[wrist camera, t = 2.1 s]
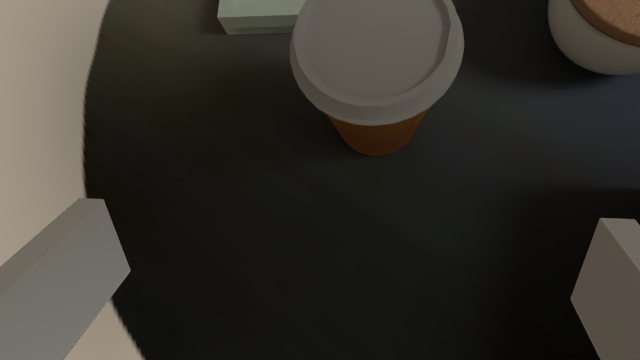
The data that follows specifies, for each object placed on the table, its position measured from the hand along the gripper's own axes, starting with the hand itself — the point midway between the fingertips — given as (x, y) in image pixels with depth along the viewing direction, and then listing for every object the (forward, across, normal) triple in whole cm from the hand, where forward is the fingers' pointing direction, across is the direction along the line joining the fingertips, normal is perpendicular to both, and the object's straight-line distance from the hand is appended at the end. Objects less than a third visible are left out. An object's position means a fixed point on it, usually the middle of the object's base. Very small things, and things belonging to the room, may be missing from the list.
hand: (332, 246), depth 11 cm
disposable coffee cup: (+22, +1, -6) cm, 23 cm away
